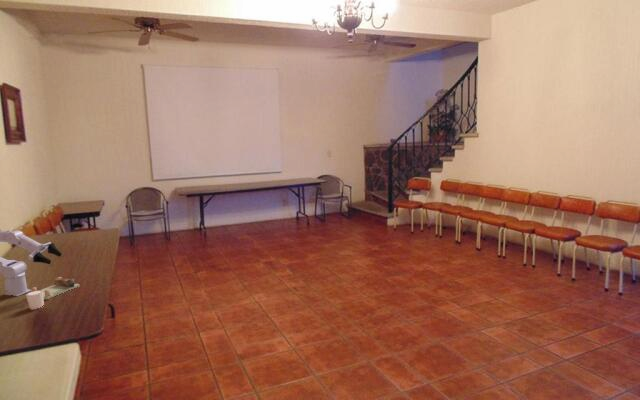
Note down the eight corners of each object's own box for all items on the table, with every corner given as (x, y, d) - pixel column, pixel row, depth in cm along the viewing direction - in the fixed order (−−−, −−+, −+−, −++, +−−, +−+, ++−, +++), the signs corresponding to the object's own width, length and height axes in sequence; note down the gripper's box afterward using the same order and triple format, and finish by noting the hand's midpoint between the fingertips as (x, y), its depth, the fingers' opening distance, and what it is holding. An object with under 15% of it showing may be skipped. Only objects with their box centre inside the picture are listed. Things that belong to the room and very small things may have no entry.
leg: (76, 284, 230) (75, 279, 230) (71, 286, 228) (70, 280, 227) (59, 283, 234) (58, 277, 234) (54, 285, 232) (53, 279, 231)
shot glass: (42, 302, 212) (39, 289, 211) (47, 305, 208) (45, 291, 207) (26, 307, 207) (23, 293, 206) (31, 311, 203) (28, 296, 201)
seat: (28, 297, 221) (26, 289, 220) (60, 284, 238) (59, 276, 237) (48, 299, 216) (46, 291, 215) (80, 286, 232) (79, 278, 232)
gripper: (21, 246, 215) (47, 260, 216) (43, 233, 228) (67, 246, 229) (18, 257, 218) (43, 270, 218) (40, 243, 231) (63, 256, 232)
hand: (55, 258), depth 224 cm, fingers open, 7 cm apart
